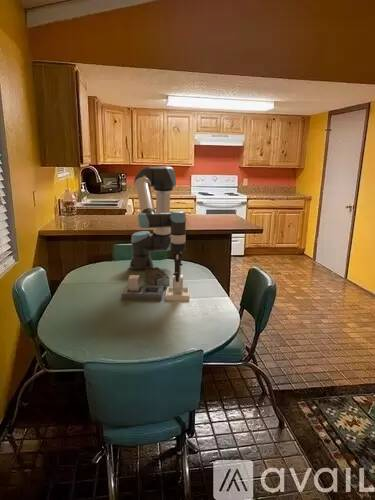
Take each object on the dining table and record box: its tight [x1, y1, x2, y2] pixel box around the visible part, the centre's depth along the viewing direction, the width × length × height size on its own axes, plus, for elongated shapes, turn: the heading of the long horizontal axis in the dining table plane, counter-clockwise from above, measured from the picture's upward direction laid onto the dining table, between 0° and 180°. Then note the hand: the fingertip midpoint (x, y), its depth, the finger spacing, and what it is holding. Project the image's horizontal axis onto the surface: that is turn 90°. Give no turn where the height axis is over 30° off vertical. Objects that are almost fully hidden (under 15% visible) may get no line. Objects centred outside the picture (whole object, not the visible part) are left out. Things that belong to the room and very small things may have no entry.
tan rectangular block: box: [172, 274, 184, 295], centre depth 175 cm, size 5×5×10 cm
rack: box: [121, 284, 165, 301], centre depth 176 cm, size 12×20×3 cm, turn 89°
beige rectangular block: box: [128, 274, 141, 292], centre depth 175 cm, size 5×5×10 cm
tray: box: [164, 286, 191, 301], centre depth 176 cm, size 12×12×3 cm
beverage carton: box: [145, 266, 170, 288], centre depth 194 cm, size 8×19×7 cm, turn 25°
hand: (177, 282), depth 174 cm, fingers open, 13 cm apart
